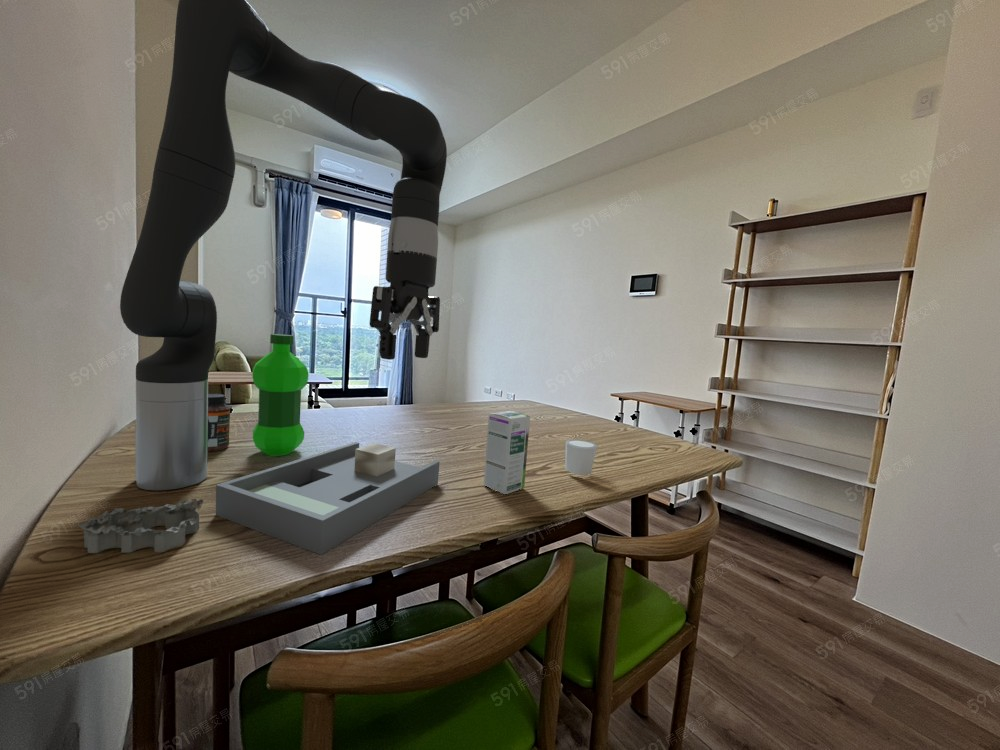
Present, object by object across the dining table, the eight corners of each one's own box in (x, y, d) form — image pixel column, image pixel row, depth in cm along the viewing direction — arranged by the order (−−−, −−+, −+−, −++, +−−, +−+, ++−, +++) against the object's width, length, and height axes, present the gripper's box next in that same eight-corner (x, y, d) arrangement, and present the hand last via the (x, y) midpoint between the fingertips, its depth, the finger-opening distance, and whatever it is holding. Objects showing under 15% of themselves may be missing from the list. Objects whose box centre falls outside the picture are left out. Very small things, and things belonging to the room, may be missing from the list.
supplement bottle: (221, 452, 83) (222, 398, 82) (188, 451, 82) (188, 396, 81) (234, 444, 89) (235, 393, 88) (204, 443, 88) (204, 392, 87)
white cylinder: (583, 468, 94) (586, 439, 93) (599, 479, 88) (603, 447, 87) (556, 469, 92) (560, 439, 91) (571, 480, 85) (575, 448, 85)
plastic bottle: (276, 463, 80) (280, 336, 77) (238, 453, 84) (240, 332, 81) (315, 450, 89) (320, 337, 87) (279, 442, 93) (283, 333, 90)
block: (354, 470, 73) (355, 449, 73) (372, 463, 78) (374, 442, 77) (376, 476, 71) (378, 454, 71) (394, 468, 76) (395, 447, 75)
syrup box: (504, 496, 74) (512, 418, 72) (482, 485, 78) (488, 411, 76) (524, 489, 78) (531, 415, 77) (502, 479, 82) (508, 409, 81)
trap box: (437, 484, 77) (439, 461, 76) (321, 554, 51) (322, 520, 50) (354, 463, 84) (355, 442, 83) (215, 514, 58) (216, 484, 58)
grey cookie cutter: (208, 526, 55) (208, 498, 55) (171, 557, 48) (171, 524, 48) (121, 524, 54) (121, 494, 54) (69, 555, 47) (68, 521, 46)
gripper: (419, 262, 70) (412, 355, 72) (360, 242, 57) (353, 356, 59) (457, 263, 67) (449, 360, 69) (403, 242, 54) (395, 362, 56)
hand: (405, 358), depth 64 cm, fingers open, 8 cm apart
